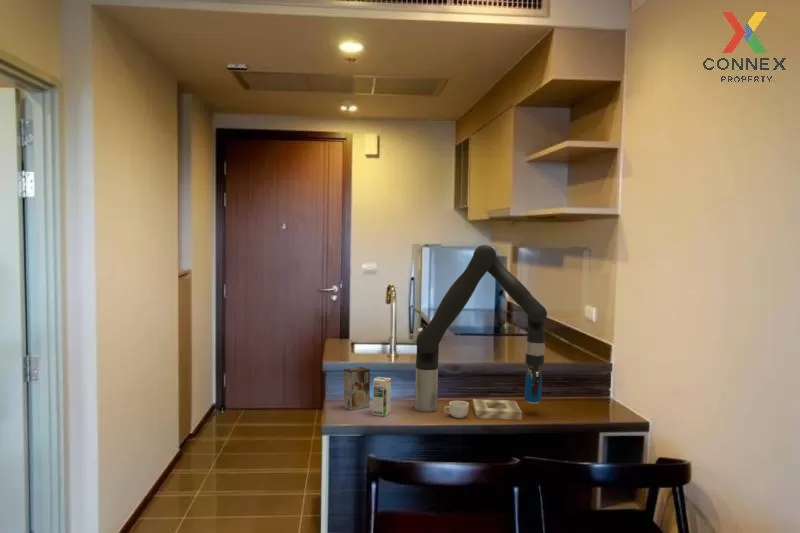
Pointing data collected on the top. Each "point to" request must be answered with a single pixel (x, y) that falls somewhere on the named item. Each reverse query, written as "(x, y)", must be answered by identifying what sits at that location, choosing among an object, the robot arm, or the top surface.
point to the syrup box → (381, 396)
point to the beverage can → (528, 390)
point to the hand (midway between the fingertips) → (532, 392)
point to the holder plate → (497, 409)
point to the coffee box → (356, 388)
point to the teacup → (458, 408)
